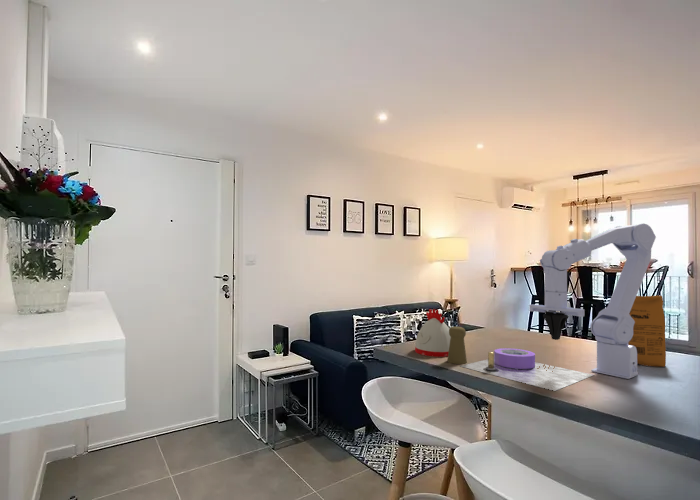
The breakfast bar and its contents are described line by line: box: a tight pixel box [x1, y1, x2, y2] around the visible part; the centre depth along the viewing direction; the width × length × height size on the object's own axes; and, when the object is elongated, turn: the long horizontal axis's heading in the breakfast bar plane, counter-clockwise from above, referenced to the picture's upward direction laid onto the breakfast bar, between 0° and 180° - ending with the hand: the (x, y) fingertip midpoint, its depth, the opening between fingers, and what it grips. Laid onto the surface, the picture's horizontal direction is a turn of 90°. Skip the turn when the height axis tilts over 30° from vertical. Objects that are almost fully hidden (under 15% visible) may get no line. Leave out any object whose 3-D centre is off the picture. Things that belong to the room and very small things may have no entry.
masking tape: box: [493, 347, 536, 369], centre depth 122 cm, size 12×12×4 cm
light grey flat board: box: [459, 358, 594, 392], centre depth 115 cm, size 28×24×1 cm
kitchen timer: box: [414, 308, 451, 358], centre depth 138 cm, size 14×14×15 cm
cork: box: [446, 326, 468, 365], centre depth 125 cm, size 6×6×11 cm
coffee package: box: [628, 295, 667, 368], centre depth 127 cm, size 10×12×22 cm
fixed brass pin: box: [486, 351, 496, 371], centre depth 115 cm, size 3×3×5 cm
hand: (555, 339), depth 112 cm, fingers closed
